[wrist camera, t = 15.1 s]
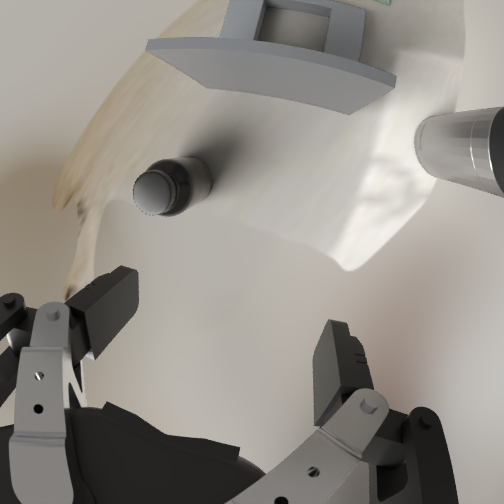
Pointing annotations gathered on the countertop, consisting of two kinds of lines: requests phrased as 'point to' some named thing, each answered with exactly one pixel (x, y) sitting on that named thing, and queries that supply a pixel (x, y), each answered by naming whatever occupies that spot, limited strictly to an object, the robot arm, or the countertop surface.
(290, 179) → the countertop surface
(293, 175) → the countertop surface
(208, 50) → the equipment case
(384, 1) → the mat
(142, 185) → the supplement bottle
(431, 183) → the countertop surface
